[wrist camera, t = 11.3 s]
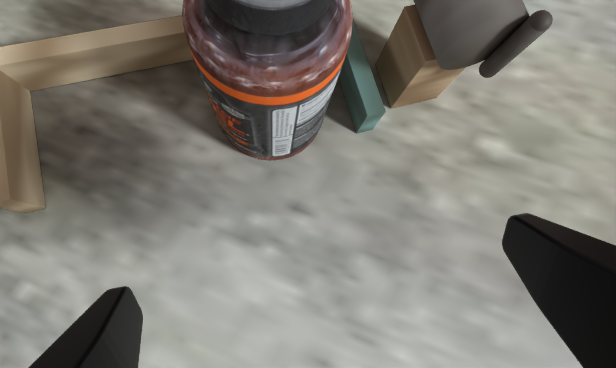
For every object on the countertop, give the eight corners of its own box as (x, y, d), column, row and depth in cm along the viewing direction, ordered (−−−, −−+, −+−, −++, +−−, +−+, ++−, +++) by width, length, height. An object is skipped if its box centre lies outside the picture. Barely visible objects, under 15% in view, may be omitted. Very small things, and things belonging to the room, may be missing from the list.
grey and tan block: (394, 132, 21) (478, 39, 12) (367, 55, 22) (427, -80, 13) (448, 119, 21) (566, 21, 13) (420, 44, 22) (511, -93, 14)
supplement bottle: (197, 104, 20) (103, -93, 9) (280, 50, 21) (286, -179, 10) (261, 185, 19) (242, 79, 8) (343, 124, 21) (421, -37, 10)
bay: (24, 212, 18) (-15, 204, 15) (8, 78, 19) (-31, 52, 17) (372, 129, 21) (385, 111, 18) (334, 18, 22) (342, -13, 20)
